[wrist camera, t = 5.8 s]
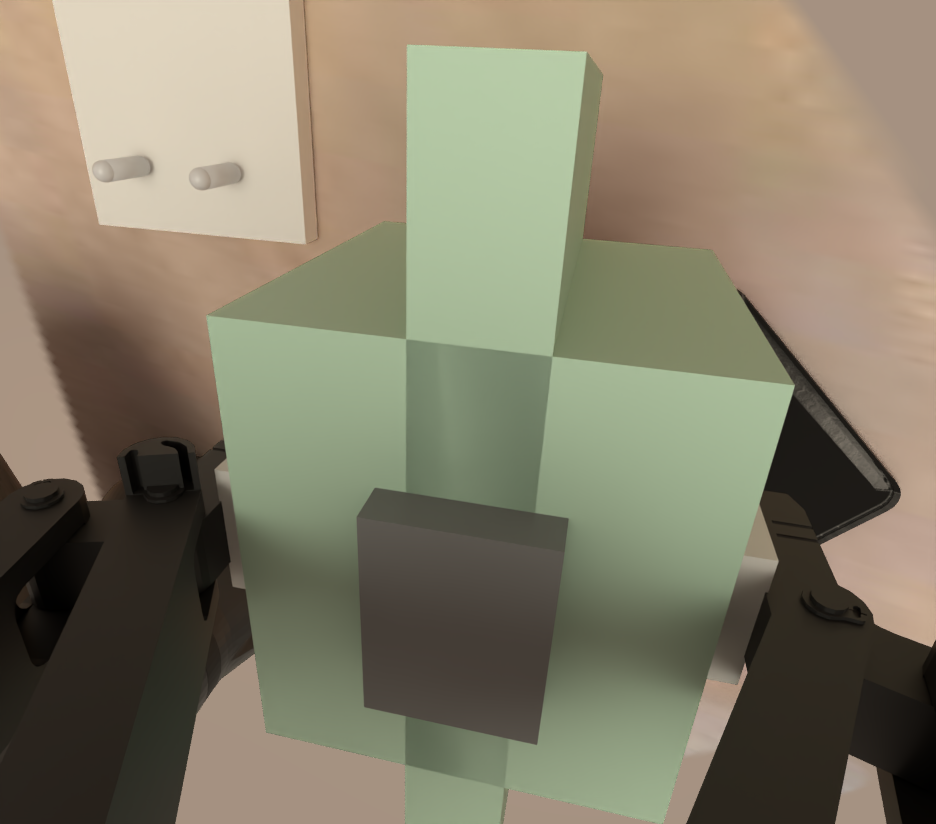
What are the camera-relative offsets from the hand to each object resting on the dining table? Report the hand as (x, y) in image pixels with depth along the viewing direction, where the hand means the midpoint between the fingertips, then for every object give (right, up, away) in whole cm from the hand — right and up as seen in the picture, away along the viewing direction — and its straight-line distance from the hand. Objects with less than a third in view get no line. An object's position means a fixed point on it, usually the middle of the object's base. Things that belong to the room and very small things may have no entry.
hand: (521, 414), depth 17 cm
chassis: (-15, +19, +14) cm, 28 cm away
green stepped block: (0, 0, +1) cm, 1 cm away
